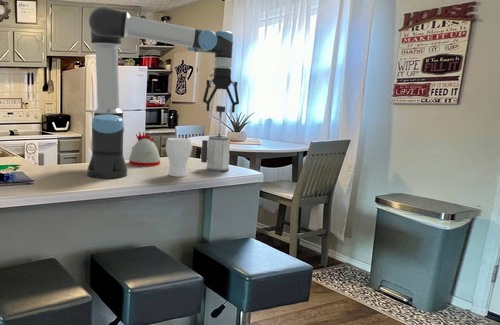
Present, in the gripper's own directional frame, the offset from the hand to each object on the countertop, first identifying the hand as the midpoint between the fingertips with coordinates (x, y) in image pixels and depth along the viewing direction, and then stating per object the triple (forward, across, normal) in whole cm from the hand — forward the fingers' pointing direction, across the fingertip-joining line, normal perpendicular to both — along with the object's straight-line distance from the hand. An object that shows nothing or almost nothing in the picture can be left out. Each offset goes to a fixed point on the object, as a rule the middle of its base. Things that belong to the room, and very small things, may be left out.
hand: (220, 119), depth 198 cm
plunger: (+13, 0, 0) cm, 13 cm away
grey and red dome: (+23, -34, +5) cm, 41 cm away
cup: (+23, -16, -17) cm, 33 cm away
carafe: (+23, -1, 0) cm, 23 cm away
